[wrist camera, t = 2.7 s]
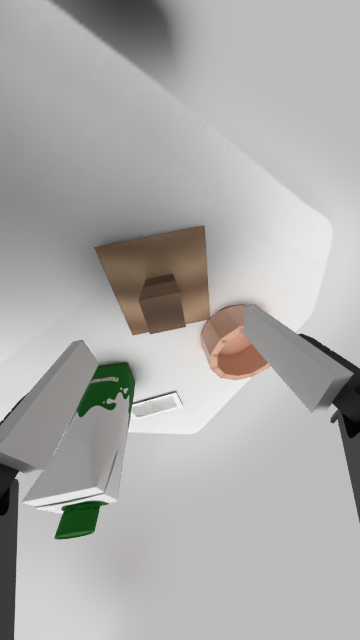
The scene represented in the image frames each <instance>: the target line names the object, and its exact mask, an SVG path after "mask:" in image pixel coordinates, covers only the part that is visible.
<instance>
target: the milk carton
mask: <svg viewBox="0 0 360 640" xmlns="http://www.w3.org/2000/svg"><path fill="white" fill-rule="evenodd" d="M134 387H135V381H134V379H133V376H132V373H131V371H130V368H129V366H128V363H127V362H126V363H119V364H112V365H106V366H99V367H97V369H96V371H95V373H94V375H93V377H92V379H91V380H90V382H89V384H88V386H87V388H86V390H85V392H84V394H83V396H82V398H81V400H80V402H79V404H78V406H77V408H76V410H75V413H74V415H73V417H72V419H71V421H70V423H69V425H68V427H67V429H66V431H65V433H64V435H63V437H62V439H61V441H60V443H59V445H58V447H57V449H56V451H55V453H54V455H53V456H52V458H51V460H50V462H49V464H48V466H47V468H46V470H45V471H43V472H42V473H41V474H40V476H39V477H38V479H37V480H36V482H35V483H34V484H33V486H32V487H31V489H30V490H29V492H28V493H27V495H26V496H25V498H24V499H23V501H22V503H25V504H29V505H33V506H35V509H37V510H46V511H51V512H55V513H63V515H62V517H61V520H60V523H59V527H58V529H57V532H56V535H55V539H69V538H75V537H80V536H85V535H88V534H91V533H93V532H94V531H95V526H96V522H97V518H98V513H99V508H100V506H102V505H107V504H108V503H111V502H116V501H118V494H119V486H120V479H121V472H122V464H123V458H124V451H125V446H126V440H127V433H128V428H129V421H130V415H131V409H132V403H133V397H134Z"/></svg>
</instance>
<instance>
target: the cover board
mask: <svg viewBox="0 0 360 640" xmlns="http://www.w3.org/2000/svg"><path fill="white" fill-rule="evenodd" d="M94 248H95V250H96V253H97V255H98V257H99V259H100V262H101V264H102V266H103V269H104V271H105V273H106V275H107V278H108V280H109V282H110V285H111V287H112V289H113V291H114V294H115V296H116V298H117V301H118V303H119V305H120V307H121V310H122V312H123V314H124V317H125V319H126V321H127V323H128V326H129V328H130V330H131V333H132V335H137V334H142V333H147V332H149V333H150V334H154V333H158V332H163V331H168V330H173V329H177V328H182V327H186V324H189V323H194V322H199V321H204V320H209V319H210V310H209V293H208V277H207V260H206V244H205V227H204V226H200V227H195V228H190V229H185V230H180V231H175V232H169V233H164V234H159V235H154V236H149V237H144V238H139V239H133V240H128V241H123V242H118V243H113V244H108V245H103V246H97V247H94Z"/></svg>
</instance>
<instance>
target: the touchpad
mask: <svg viewBox="0 0 360 640" xmlns="http://www.w3.org/2000/svg"><path fill="white" fill-rule="evenodd" d="M181 407H183V405H182V403H181V401H180V399H179V397H178V395H177V393H172V394H169V395H165V396H162V397H158V398H154V399H151V400H147V401H144V402H140V403H136V404H133V405H132V409H131V416H132V417H133V418H134V420H138V419H141V418H145V417H149V416H152V415H156V414H160V413H163V412H167V411H170V410H174V409H178V408H181Z"/></svg>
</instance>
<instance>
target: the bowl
mask: <svg viewBox="0 0 360 640" xmlns="http://www.w3.org/2000/svg"><path fill="white" fill-rule="evenodd" d="M245 307H246V306H245V305H235V306H230V307H227V308H224V309H222V310H220V311H218V312H217V313H215V314H214V315H213V316H212V317H211V318H210V319H209V320H208V321H207V322H206V324H205V326H204V328H203V330H202V334H201V341H202V347H203V350H204V353H205V355H206V358H207V360H208V363H209V365H210V368H211V370H212V371H213V372H215V373H216V374H217V375H218V376H219V377H220V378H225V379H232V380H239V379H243V378H248V377H252V376H255V375H256V374H258V373H259V372H261V371H264V370H265V369H267V368H269V367H270V364H269V363H268V362H267V361H266V360H265V359H264V357H263V356H262V355H261V354H260V353H259V352H258V351H257V349H256V348H255V347H254V346H253V345H252V344H251V342H250V341H249V340H248V339H247V338H246V337H245V335H244V334H243V330H244V318H245Z"/></svg>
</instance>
